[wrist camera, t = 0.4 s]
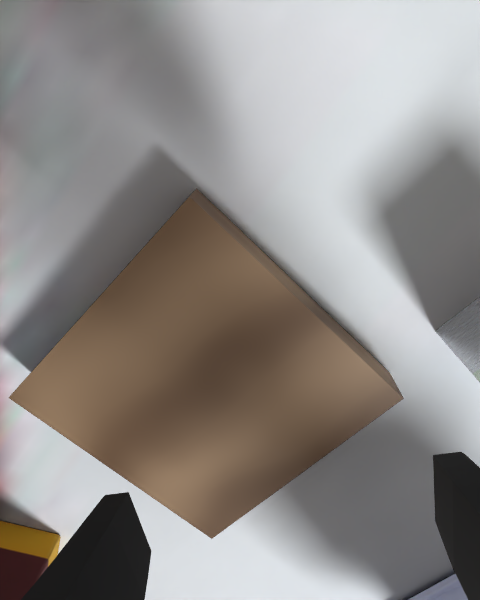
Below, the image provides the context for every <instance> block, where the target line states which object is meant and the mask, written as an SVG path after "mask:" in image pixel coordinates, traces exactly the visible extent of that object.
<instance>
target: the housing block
mask: <svg viewBox="0 0 480 600" xmlns="http://www.w3.org/2000/svg"><path fill="white" fill-rule="evenodd" d="M435 332H436V333H437V334H438V335H439V336H440V337H441V338H442V340H443V341H444V342H445V343H446V344H447V345H448V346H449V348H450V349H451V350H452V351H453V352H454V353H455V355H456V356H457V357H458V358H459V359H460V360H461V361H462V363H463V364H464V365H465V366H466V367H467V368H468V369H469V371H470V372H471V373H472V374H473V375H474V376H475V377H476V379H477V380H478V381H479V382H480V297H479V298H478V299H476V300H475V301H474V302H472V303H471V304H470V305H468V306H467V307H466V308H465V309H463V310H462V311H461V312H459V313H458V314H457V315H455V316H454V317H453V318H452V319H450V320H449V321H448V322H446V323H445V324H444V325H442V326H441V327H440V328H439V329H437V330H436V331H435Z"/></svg>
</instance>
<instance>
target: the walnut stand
mask: <svg viewBox="0 0 480 600" xmlns="http://www.w3.org/2000/svg"><path fill="white" fill-rule="evenodd" d="M9 398H10V399H11V400H13V401H14V402H15V403H17V404H18V405H20V406H21V407H23V408H24V409H26V410H27V411H28V412H30V413H31V414H33V415H34V416H36V417H37V418H39V419H40V420H41V421H43V422H44V423H46V424H47V425H49V426H50V427H52V428H53V429H54V430H56V431H57V432H59V433H60V434H62V435H63V436H64V437H66V438H67V439H69V440H70V441H72V442H73V443H75V444H76V445H77V446H79V447H80V448H82V449H83V450H85V451H86V452H88V453H89V454H90V455H92V456H93V457H95V458H96V459H98V460H99V461H101V462H102V463H103V464H105V465H106V466H108V467H109V468H111V469H112V470H113V471H115V472H116V473H118V474H119V475H121V476H122V477H124V478H125V479H126V480H128V481H129V482H131V483H132V484H134V485H135V486H137V487H138V488H139V489H141V490H142V491H144V492H145V493H147V494H148V495H150V496H151V497H152V498H154V499H155V500H157V501H158V502H160V503H161V504H162V505H164V506H165V507H167V508H168V509H170V510H171V511H173V512H174V513H175V514H177V515H178V516H180V517H181V518H183V519H184V520H186V521H187V522H188V523H190V524H191V525H193V526H194V527H196V528H197V529H199V530H200V531H201V532H203V533H204V534H206V535H207V536H209V537H210V538H211V539H212V538H213V537H215V536H216V535H217V534H219V533H220V532H222V531H223V530H224V529H226V528H227V527H228V526H230V525H231V524H233V523H234V522H235V521H237V520H238V519H239V518H241V517H242V516H244V515H245V514H246V513H248V512H249V511H250V510H252V509H253V508H254V507H256V506H257V505H259V504H260V503H261V502H263V501H264V500H265V499H267V498H268V497H270V496H271V495H272V494H274V493H275V492H276V491H278V490H279V489H280V488H282V487H283V486H285V485H286V484H287V483H289V482H290V481H291V480H293V479H294V478H296V477H297V476H298V475H300V474H301V473H302V472H304V471H305V470H306V469H308V468H309V467H311V466H312V465H313V464H315V463H316V462H317V461H319V460H320V459H322V458H323V457H324V456H326V455H327V454H328V453H330V452H331V451H332V450H334V449H335V448H337V447H338V446H339V445H341V444H342V443H343V442H345V441H346V440H348V439H349V438H350V437H352V436H353V435H354V434H356V433H357V432H358V431H360V430H361V429H363V428H364V427H365V426H367V425H368V424H369V423H371V422H372V421H374V420H375V419H376V418H378V417H379V416H380V415H382V414H383V413H384V412H386V411H387V410H389V409H390V408H391V407H393V406H394V405H395V404H397V403H398V402H400V401H401V400H402V399H404V398H403V396H402V395H401V393H400V391H399V389H398V387H397V385H396V383H395V382H394V380H393V378H392V376H391V374H390V373H389V372H388V371H387V370H386V369H385V368H384V367H383V366H382V365H381V364H380V363H379V362H378V361H377V360H376V359H375V358H374V357H373V356H372V355H371V354H370V353H368V352H367V351H366V350H365V349H364V348H363V347H362V346H361V345H360V344H359V343H358V342H357V341H356V340H355V339H354V338H353V337H352V336H351V335H350V334H349V333H348V332H346V331H345V330H344V329H343V328H342V327H341V326H340V325H339V324H338V323H337V322H336V321H335V320H334V319H333V318H332V317H331V316H330V315H329V314H328V313H327V312H326V311H324V310H323V309H322V308H321V307H320V306H319V305H318V304H317V303H316V302H315V301H314V300H313V299H312V298H311V297H310V296H309V295H308V294H307V293H306V292H305V291H303V290H302V289H301V288H300V287H299V286H298V285H297V284H296V283H295V282H294V281H293V280H292V279H291V278H290V277H289V276H288V275H287V274H286V273H285V272H284V271H283V270H281V269H280V268H279V267H278V266H277V265H276V264H275V263H274V262H273V261H272V260H271V259H270V258H269V257H268V256H267V255H266V254H265V253H264V252H263V251H262V250H261V249H259V248H258V247H257V246H256V245H255V244H254V243H253V242H252V241H251V240H250V239H249V238H248V237H247V236H246V235H245V234H244V233H243V232H242V231H241V230H240V229H239V228H237V227H236V226H235V225H234V224H233V223H232V222H231V221H230V220H229V219H228V218H227V217H226V216H225V215H224V214H223V213H222V212H221V211H220V210H219V209H218V208H217V207H215V206H214V205H213V204H212V203H211V202H210V201H209V200H208V199H207V198H206V197H205V196H204V195H203V194H202V193H201V192H200V191H199V190H198V189H196V190H195V191H194V192H193V193H192V194H191V195H190V196H189V197H188V198H187V200H186V201H185V202H184V203H183V204H182V205H181V206H180V207H179V209H178V210H177V211H176V212H175V213H174V214H173V215H172V216H171V217H170V219H169V220H168V221H167V222H166V223H165V224H164V225H163V226H162V227H161V229H160V230H159V231H158V232H157V233H156V234H155V235H154V236H153V237H152V239H151V240H150V241H149V242H148V243H147V244H146V245H145V246H144V247H143V249H142V250H141V251H140V252H139V253H138V254H137V255H136V256H135V257H134V259H133V260H132V261H131V262H130V263H129V264H128V265H127V266H126V268H125V269H124V270H123V271H122V272H121V273H120V274H119V275H118V276H117V278H116V279H115V280H114V281H113V282H112V283H111V284H110V285H109V286H108V288H107V289H106V290H105V291H104V292H103V293H102V294H101V295H100V296H99V298H98V299H97V300H96V301H95V302H94V303H93V304H92V305H91V306H90V308H89V309H88V310H87V311H86V312H85V313H84V314H83V315H82V317H81V318H80V319H79V320H78V321H77V322H76V323H75V324H74V325H73V327H72V328H71V329H70V330H69V331H68V332H67V333H66V334H65V335H64V337H63V338H62V339H61V340H60V341H59V342H58V343H57V344H56V345H55V347H54V348H53V349H52V350H51V351H50V352H49V353H48V354H47V355H46V357H45V358H44V359H43V360H42V361H41V362H40V363H39V364H38V365H37V367H36V368H35V369H34V370H33V371H32V372H31V373H30V374H29V376H28V377H27V378H26V379H25V380H24V381H23V382H22V383H21V384H20V386H19V387H18V388H17V389H16V390H15V391H14V392H13V393H12V394H11V396H10V397H9Z"/></svg>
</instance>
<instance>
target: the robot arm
mask: <svg viewBox="0 0 480 600" xmlns="http://www.w3.org/2000/svg"><path fill="white" fill-rule="evenodd" d="M433 464H434V494H435V521H436V524H437V527H438V530H439V532H440V535H441V538H442V540H443V543H444V546H445V549H446V551H447V554H448V556H449V559H450V562H451V564H452V567H453V569H454V572H455V574H453V575H452V576H450V577H448V578H446V579H444V580H443V581H441V582H439V583H437V584H435V585H434V586H432V587H430V588H428V589H426V590H425V591H423V592H421V593H419V594H417V595H415V596H414V597H412V598H410V599H408V600H480V468H479V467H478V466H477V465H476V464H475V463H474V462H473V461H472V460H471V459H470V458H469V457H467V456H466V455H465V454H464V453H462V452H456V453H447V454H439V455H433ZM150 557H151V549H150V547H149V544H148V542H147V539H146V536H145V534H144V531H143V529H142V526H141V523H140V521H139V518H138V516H137V513H136V510H135V508H134V505H133V503H132V500H131V497H130V495H129V492H127V493H119V494H111V495H105V496H104V497H103V498H102V499H101V501H100V502H99V503H98V504H97V506H96V507H95V508H94V509H93V511H92V512H91V513H90V515H89V516H88V517H87V518H86V520H85V521H84V522H83V523H82V525H81V526H80V527H79V529H78V530H77V531H76V532H75V534H74V535H73V536H72V538H71V539H70V540H69V541H68V543H67V544H66V545H65V546H64V548H63V549H62V550H61V551H60V553H59V554H58V555H57V556H56V558H55V559H54V560H53V561H52V563H51V564H50V565H49V566H48V568H47V569H46V570H45V571H44V573H43V574H42V575H41V576H40V578H39V579H38V580H37V581H36V582H35V584H34V585H33V586H32V587H31V588H30V589H29V591H28V592H27V593H26V594H25V595H24V596H23V598H22V599H21V600H144V599H145V592H146V586H147V579H148V572H149V564H150Z"/></svg>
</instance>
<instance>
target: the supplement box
mask: <svg viewBox="0 0 480 600" xmlns="http://www.w3.org/2000/svg"><path fill="white" fill-rule="evenodd" d="M59 542H60V535H58V534H54V533H50V532H46V531H42V530H38V529H33V528H29V527H25V526H21V525H16V524H12V523H8V522H4V521H0V600H21V599H22V598H23V596H24V595H25V594H26V593H27V592H28V591H29V589H30V588H31V587H32V586H33V585H34V584H35V582H36V581H37V580H38V579H39V578H40V576H41V575H42V574H43V573H44V571H45V570H46V569H47V568H48V566H49V565H50V564H51V563H52V561H53V560H54V559H55V558H56V556H57V554H58V548H59Z"/></svg>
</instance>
